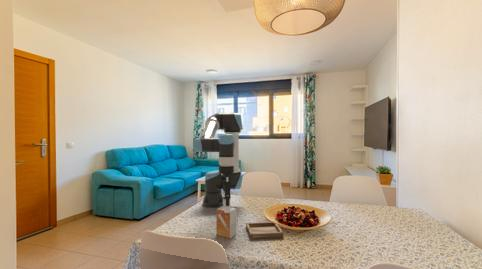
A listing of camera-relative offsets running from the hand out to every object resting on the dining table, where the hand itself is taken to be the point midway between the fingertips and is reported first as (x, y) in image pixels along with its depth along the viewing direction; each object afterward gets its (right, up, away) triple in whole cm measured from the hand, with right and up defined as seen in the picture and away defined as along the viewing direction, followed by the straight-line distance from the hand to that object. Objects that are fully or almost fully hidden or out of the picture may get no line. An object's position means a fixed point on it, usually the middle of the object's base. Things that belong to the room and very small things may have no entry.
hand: (226, 208), depth 115 cm
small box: (0, -14, 0) cm, 14 cm away
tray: (+19, -13, +3) cm, 23 cm away
